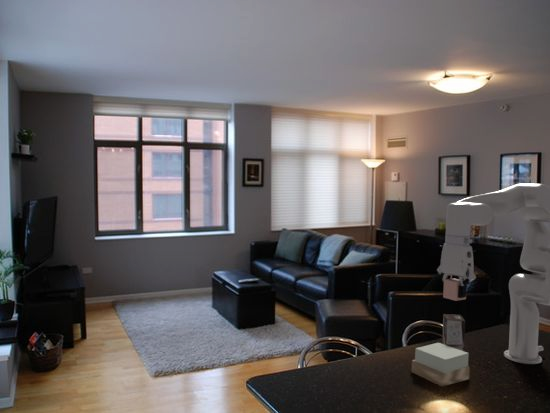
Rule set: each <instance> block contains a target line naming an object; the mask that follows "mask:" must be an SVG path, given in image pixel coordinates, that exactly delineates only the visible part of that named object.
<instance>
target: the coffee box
mask: <svg viewBox="0 0 550 413" xmlns="http://www.w3.org/2000/svg"><path fill="white" fill-rule="evenodd" d="M442 317H443V318H442V343H441V344H444V345H447V346H450V347H453V348H455V349H458V350H461V351H464V352H465V336H466V335H465V333H466V320H465V319H464V317H463V316H462V315H461V314H454V313H452V314H451V313H450V314H447V313H443V316H442Z"/></svg>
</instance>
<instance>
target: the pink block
mask: <svg viewBox="0 0 550 413" xmlns="http://www.w3.org/2000/svg"><path fill="white" fill-rule="evenodd" d="M463 281H464V279H463ZM459 285H460V282H459V278H453V277H452V278H451V279H444V282H443V291H442V292H443V293H442V294H443V296H442V297H443V298H444V299H447V300H448V299H449V300H451V301H455V302H457V301H458V302H459V301H463V300H466V299H467V296H466V297H464V298H458V287H459Z"/></svg>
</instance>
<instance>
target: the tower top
mask: <svg viewBox="0 0 550 413" xmlns="http://www.w3.org/2000/svg"><path fill="white" fill-rule="evenodd" d="M414 354H415V355H414V360H415V362H418V363H420V364H423V365H425V366H428V367H430V368H432V369H435V370H437V371H440V372H442V373H448V372H451V371H455V370H458V369H461V368H464V367H469V356H470V354H469V352H466V351H465V350H464V351H461V350H458V349H455V348H453V347H450V346H447V345H444V344H442V343H441V342H436V343H432V344H427V345H424V346H420V347H416V348H415V352H414Z"/></svg>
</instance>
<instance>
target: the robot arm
mask: <svg viewBox="0 0 550 413" xmlns="http://www.w3.org/2000/svg"><path fill="white" fill-rule="evenodd" d="M517 210H518V213H519V215H520V218H521V219H522V222H523V223H524V227H525V230H526V231H525V232H526V233H525V239H524V243H523V245H522V251H521V254H520V259H519V265H520V267H521V268H522V269H523V270H525V271H529V272H531V273H532V272H533V273H539V274H544V275H545V277H543V276H538V275H534V274H527V273H515V274H514V275H513V276H511V278H510V279H509V282H508V290H509V292H508V293H509V298H510V315H509V337H508V338H509V339H508V349H506V350H505V351H503V356H504V357H505V358H506V359H507V360H510V361H513V362H515V363H518V364H519V363H520V364H524V365H537V364H541V363H542V362H543V358H542V357H541V355H539V353H540V352H542V351H544V346H542V345H539V330H540V329H539V328H540V326H539V325H540V311H539V308H538V305H537V304H541V305H544V306H549V307H550V227H549V226H548V224H547V223H550V186H549V185H547V184H544V183H532V182H531V183H529V182H527V183H525V182H524V183H521V182H519V183H516V184H513V185H511V186H508V187H505V188H503V189H500V190H497V191H493V192H487V193H484V194H479V195H474V196H469V197H466V198H463V199H461V200H458V201H455V202H450V203H448V204H447V207H446V215H445V216H446V217H445V218H446V219H445V242H444V243H443V246H442V250H441V255H440V257H441V258H440V265H439V266H438V267H437V269H436V271H437V273H438V275H439V276H440V277H441V279H442V282H443V283H444V279H453V276H455V277H458V279H459V282H460V285H459V287H458V298H464V297H466V298H467V286H469V284H470V283H471V282H473V281H474V280H476V279H477V276H476V274H475V272H474V271H475V270H474V263H475V262H474V253H473V246H471V245H470V244H472V243H473V239H472V238H471V226H479V227H483V226H487V225H488V224H490V223H491V222H492V221H493V219H494V217H496V216H505V215H508V214H510V213H513V212H515V211H517ZM463 280H464V281H463Z"/></svg>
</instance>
